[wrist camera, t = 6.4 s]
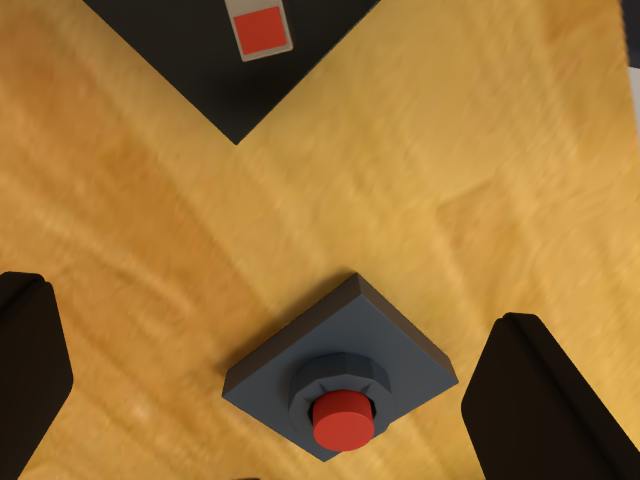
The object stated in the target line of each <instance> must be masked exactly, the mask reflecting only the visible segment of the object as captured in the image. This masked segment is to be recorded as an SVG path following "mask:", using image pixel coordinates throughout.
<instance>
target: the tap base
mask: <svg viewBox="0 0 640 480" xmlns="http://www.w3.org/2000/svg"><path fill="white" fill-rule="evenodd" d="M83 1H84V2H85V3H86V4H87V5H88V6H89V7H90V8H91V9H92V10H93V11H94V12H95V13H97V14H98V15H99V16H100V17H101V18H102V19H103V20H104V21H105V22H106V23H107V24H108V25H109V26H110V27H111V28H112V29H113V30H114V31H116V32H117V33H118V34H119V35H120V36H121V37H122V38H123V39H124V40H125V41H126V42H127V43H128V44H129V45H130V46H131V47H132V48H133V49H135V50H136V51H137V52H138V53H139V54H140V55H141V56H142V57H143V58H144V59H145V60H146V61H147V62H148V63H149V64H150V65H151V66H152V67H153V68H155V69H156V70H157V71H158V72H159V73H160V74H161V75H162V76H163V77H164V78H165V79H166V80H167V81H168V82H169V83H170V84H171V85H172V86H174V87H175V88H176V89H177V90H178V91H179V92H180V93H181V94H182V95H183V96H184V97H185V98H186V99H187V100H188V101H189V102H190V103H191V104H193V105H194V106H195V107H196V108H197V109H198V110H199V111H200V112H201V113H202V114H203V115H204V116H205V117H206V118H207V119H208V120H209V121H210V122H212V123H213V124H214V125H215V126H216V127H217V128H218V129H219V130H220V131H221V132H222V133H223V134H224V135H225V136H226V137H227V138H228V139H229V140H231V141H232V142H233V143H234V144H235V145H238V144H239V142H240V141H241V140H242V139H243V138H244V137H245V136H246V135H247V134H248V133H249V132H250V131H251V130H252V129H253V128H254V127H255V126H256V125H257V124H258V123H259V122H260V121H261V120H262V119H263V118H264V117H265V116H266V115H267V114H268V113H269V112H270V111H271V110H272V109H273V108H274V107H275V106H276V105H277V104H278V103H279V102H280V101H281V100H282V99H283V98H284V97H285V96H286V95H287V94H288V93H289V92H290V91H291V90H292V89H293V88H294V87H295V86H296V85H297V84H298V83H299V82H300V81H301V80H302V79H303V78H304V77H305V76H306V75H307V74H308V73H309V72H310V71H311V70H312V69H313V68H314V67H315V66H316V65H317V64H318V63H319V62H320V61H321V60H322V59H323V58H324V57H325V56H326V55H327V54H328V53H329V52H330V51H331V50H332V49H333V48H334V47H335V46H336V45H337V44H338V43H339V42H340V41H341V40H342V39H343V38H344V37H345V36H346V35H347V34H348V33H349V32H350V31H351V30H352V29H353V28H354V27H355V26H356V25H357V24H358V23H359V22H360V21H361V20H362V19H363V18H364V17H365V16H366V15H367V14H368V13H369V12H370V11H371V10H372V9H373V8H374V7H375V6H376V5H377V4H378V3H379V2H380V1H381V0H288V3H289V7H290V12H291V16H292V20H293V25H294V29H295V34H296V41H295V44H294V47H293V49H292V50H290V51H286V52H282V53H278V54H274V55H270V56H266V57H262V58H259V59H255V60H251V61H247V62H243V61H242V59H241V56H240V52H239V49H238V45H237V42H236V39H235V35H234V32H233V28H232V25H231V22H230V18H229V15H228V11H227V8H226V5H225V1H224V0H83Z"/></svg>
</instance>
